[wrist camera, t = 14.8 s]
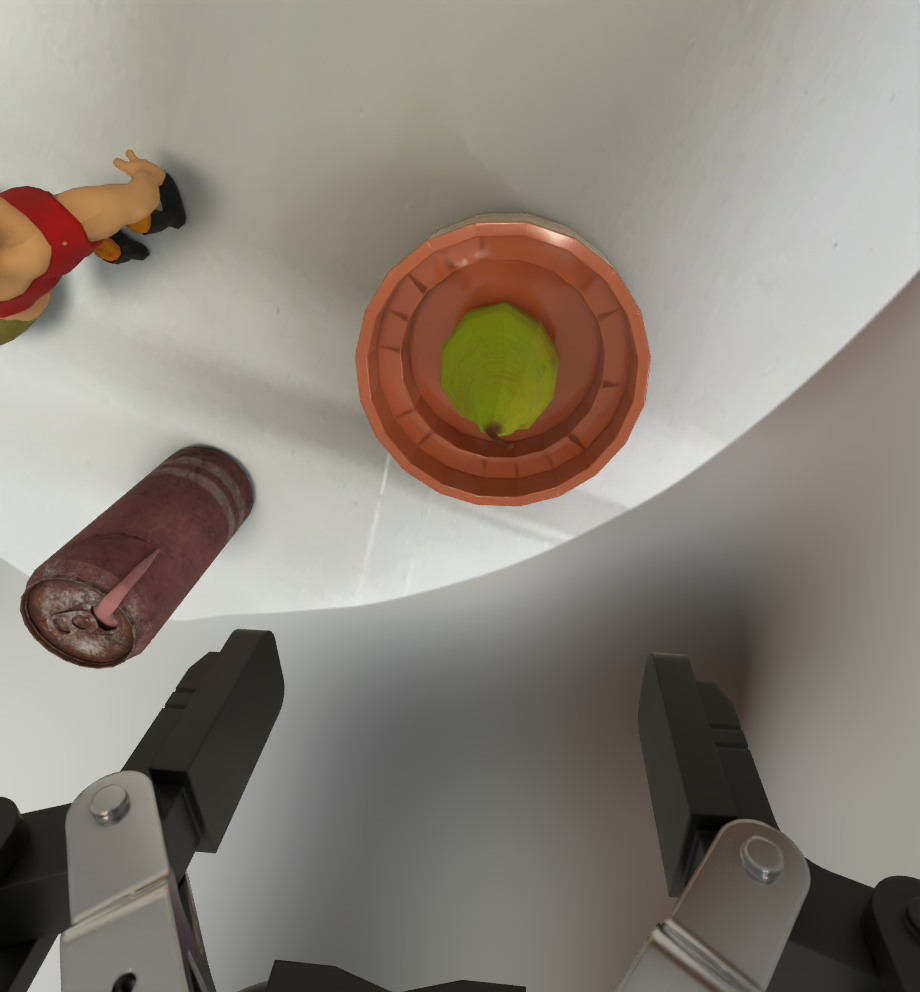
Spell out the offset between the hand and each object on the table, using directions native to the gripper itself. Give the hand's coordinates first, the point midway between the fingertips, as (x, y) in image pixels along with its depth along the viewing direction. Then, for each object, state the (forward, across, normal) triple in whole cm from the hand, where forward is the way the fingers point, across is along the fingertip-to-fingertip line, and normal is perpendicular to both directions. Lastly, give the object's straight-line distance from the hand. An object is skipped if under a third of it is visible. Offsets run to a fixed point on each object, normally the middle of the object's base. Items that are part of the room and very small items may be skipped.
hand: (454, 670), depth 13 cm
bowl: (+25, 0, 0) cm, 25 cm away
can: (+25, +19, +9) cm, 32 cm away
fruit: (+24, 0, 0) cm, 24 cm away
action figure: (+25, +19, -7) cm, 32 cm away
